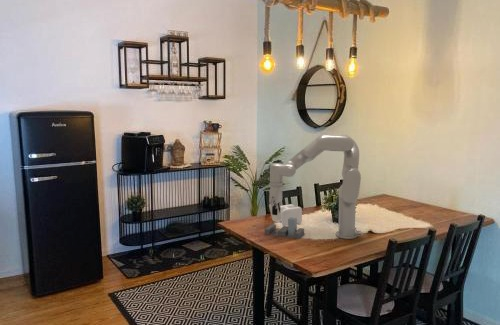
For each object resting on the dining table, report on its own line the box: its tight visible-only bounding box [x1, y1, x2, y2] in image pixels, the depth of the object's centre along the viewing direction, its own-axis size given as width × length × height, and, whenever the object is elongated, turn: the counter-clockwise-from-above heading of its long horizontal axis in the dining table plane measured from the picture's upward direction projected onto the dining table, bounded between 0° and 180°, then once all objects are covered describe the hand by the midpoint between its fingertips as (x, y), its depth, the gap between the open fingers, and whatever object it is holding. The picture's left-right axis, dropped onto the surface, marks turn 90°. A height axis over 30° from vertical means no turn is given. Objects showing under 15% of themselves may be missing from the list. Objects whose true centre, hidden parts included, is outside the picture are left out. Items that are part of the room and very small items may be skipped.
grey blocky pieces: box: [263, 224, 306, 240], centre depth 235 cm, size 23×10×4 cm, turn 64°
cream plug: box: [268, 203, 281, 222], centre depth 235 cm, size 4×4×10 cm
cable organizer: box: [274, 203, 303, 226], centre depth 256 cm, size 15×11×12 cm
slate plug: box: [287, 217, 298, 236], centre depth 232 cm, size 4×4×10 cm
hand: (276, 213), depth 235 cm, fingers closed on cream plug, 4 cm apart
